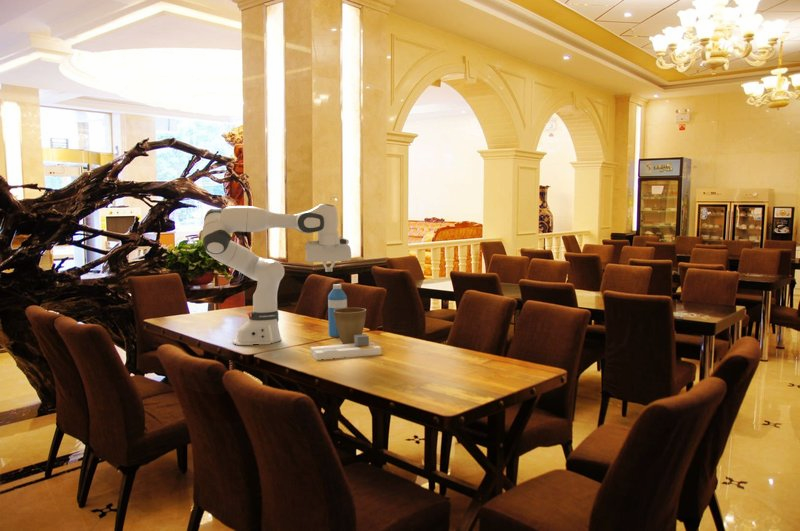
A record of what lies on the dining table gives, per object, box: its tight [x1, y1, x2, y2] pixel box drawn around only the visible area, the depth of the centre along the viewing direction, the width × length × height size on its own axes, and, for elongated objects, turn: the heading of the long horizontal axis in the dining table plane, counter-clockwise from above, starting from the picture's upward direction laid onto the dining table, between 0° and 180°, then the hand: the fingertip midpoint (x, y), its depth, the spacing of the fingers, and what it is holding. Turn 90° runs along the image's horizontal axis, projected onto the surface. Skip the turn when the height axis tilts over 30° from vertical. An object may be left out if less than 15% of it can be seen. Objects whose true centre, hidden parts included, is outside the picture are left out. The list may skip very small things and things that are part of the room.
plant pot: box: [334, 307, 367, 344], centre depth 284 cm, size 15×15×16 cm
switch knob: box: [354, 333, 370, 347], centre depth 268 cm, size 5×5×6 cm
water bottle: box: [327, 283, 348, 338], centre depth 305 cm, size 9×9×25 cm
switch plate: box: [310, 341, 382, 361], centre depth 266 cm, size 28×12×3 cm, turn 110°
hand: (328, 271), depth 277 cm, fingers closed
